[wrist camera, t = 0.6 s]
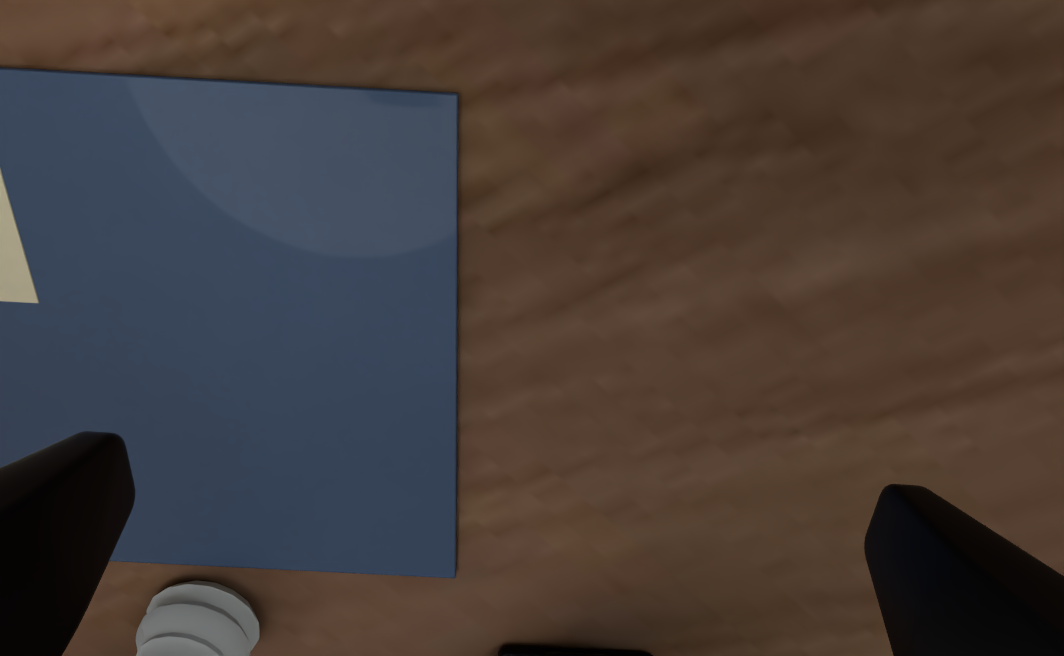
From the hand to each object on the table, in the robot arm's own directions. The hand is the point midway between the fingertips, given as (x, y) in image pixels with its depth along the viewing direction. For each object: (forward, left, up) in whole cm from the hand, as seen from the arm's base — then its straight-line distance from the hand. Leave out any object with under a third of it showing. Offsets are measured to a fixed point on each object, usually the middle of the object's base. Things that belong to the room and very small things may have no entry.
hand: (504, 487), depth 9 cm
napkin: (-7, +12, -14) cm, 20 cm away
